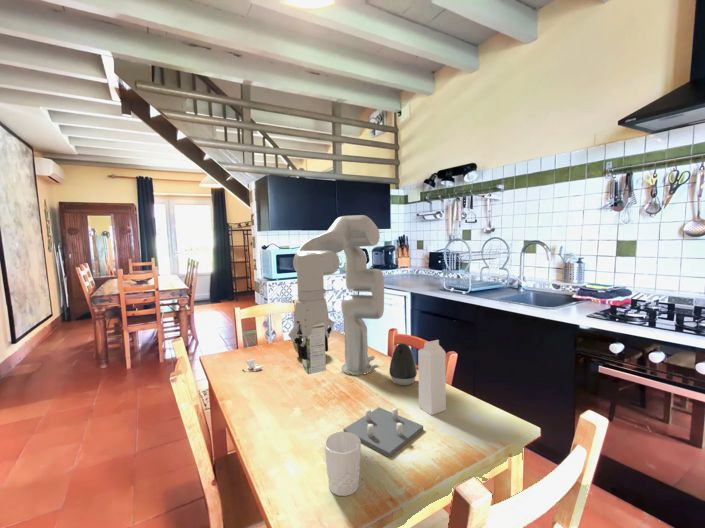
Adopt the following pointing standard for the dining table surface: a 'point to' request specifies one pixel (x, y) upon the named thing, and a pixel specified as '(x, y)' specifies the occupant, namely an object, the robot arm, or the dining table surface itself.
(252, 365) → the pacifier
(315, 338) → the syrup box
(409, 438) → the standoff base
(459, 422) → the dining table surface
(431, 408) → the milk
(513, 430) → the dining table surface
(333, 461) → the white cup
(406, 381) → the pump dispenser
